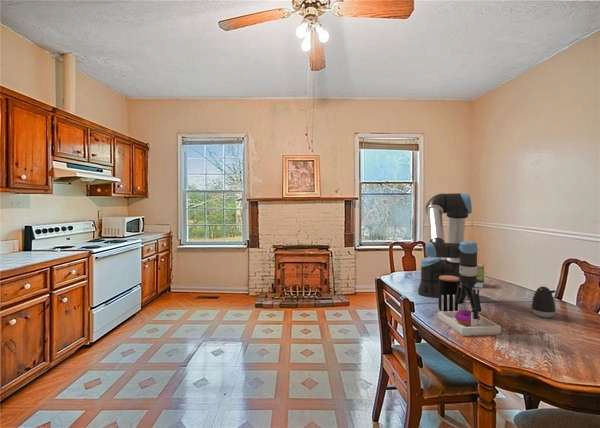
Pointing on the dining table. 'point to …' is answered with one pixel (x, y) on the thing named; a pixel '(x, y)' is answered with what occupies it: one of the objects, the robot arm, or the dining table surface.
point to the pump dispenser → (543, 302)
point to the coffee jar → (448, 291)
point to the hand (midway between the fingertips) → (467, 321)
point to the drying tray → (467, 330)
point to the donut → (464, 317)
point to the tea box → (480, 276)
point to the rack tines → (448, 303)
